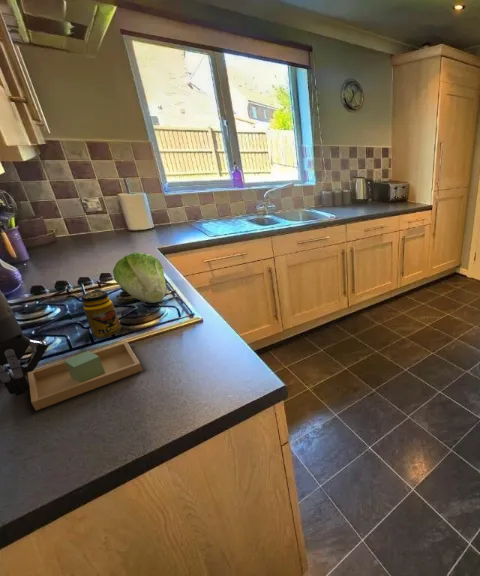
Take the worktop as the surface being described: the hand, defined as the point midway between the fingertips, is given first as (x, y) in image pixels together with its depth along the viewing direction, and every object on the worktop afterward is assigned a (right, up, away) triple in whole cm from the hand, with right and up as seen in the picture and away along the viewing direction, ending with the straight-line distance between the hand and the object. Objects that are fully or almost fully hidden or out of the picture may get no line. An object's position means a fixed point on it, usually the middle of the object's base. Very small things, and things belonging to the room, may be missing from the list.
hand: (21, 392), depth 66 cm
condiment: (-4, +8, +24) cm, 26 cm away
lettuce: (-8, +18, +47) cm, 51 cm away
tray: (+7, +1, +8) cm, 10 cm away
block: (+7, +1, +7) cm, 10 cm away
